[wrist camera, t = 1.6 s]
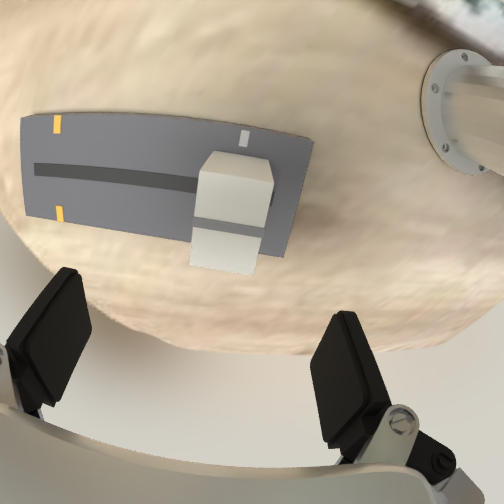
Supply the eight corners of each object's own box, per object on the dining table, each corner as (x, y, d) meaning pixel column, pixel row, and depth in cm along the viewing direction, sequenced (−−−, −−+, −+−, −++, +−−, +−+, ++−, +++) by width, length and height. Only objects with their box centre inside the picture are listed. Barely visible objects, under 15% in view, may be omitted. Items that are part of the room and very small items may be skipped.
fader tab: (269, 159, 20) (275, 183, 15) (253, 232, 23) (253, 276, 18) (213, 150, 20) (198, 170, 15) (202, 224, 23) (188, 266, 18)
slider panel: (308, 138, 22) (314, 142, 20) (281, 246, 27) (283, 258, 25) (33, 114, 19) (19, 118, 17) (36, 207, 24) (25, 215, 22)
